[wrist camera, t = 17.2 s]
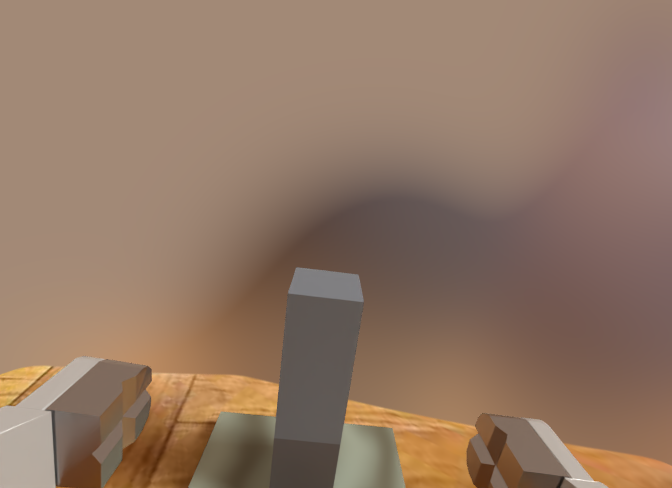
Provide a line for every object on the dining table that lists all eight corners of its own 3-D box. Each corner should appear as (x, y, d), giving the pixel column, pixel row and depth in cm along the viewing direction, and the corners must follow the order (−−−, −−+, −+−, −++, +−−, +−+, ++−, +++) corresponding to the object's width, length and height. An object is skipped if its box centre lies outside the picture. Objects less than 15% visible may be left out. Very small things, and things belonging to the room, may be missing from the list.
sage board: (164, 556, 25) (164, 542, 25) (220, 422, 38) (221, 411, 37) (418, 576, 26) (421, 563, 25) (390, 438, 38) (392, 428, 38)
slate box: (268, 501, 28) (287, 293, 23) (278, 446, 34) (296, 267, 28) (330, 506, 29) (363, 302, 23) (330, 451, 34) (358, 274, 29)
